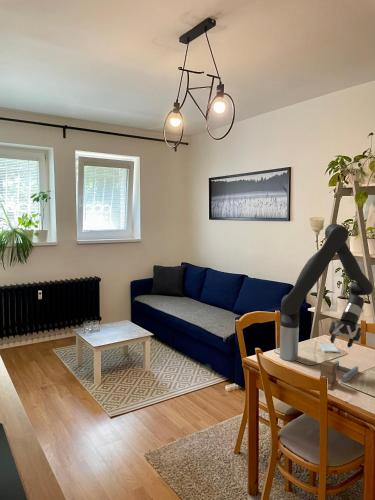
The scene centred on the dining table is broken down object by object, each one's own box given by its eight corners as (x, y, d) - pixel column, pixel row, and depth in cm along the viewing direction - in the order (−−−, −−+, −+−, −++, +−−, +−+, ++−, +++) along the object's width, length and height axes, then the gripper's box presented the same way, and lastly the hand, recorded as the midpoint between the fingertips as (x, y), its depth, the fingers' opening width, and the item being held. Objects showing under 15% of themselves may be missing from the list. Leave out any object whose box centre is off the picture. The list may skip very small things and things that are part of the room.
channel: (336, 365, 183) (336, 360, 183) (358, 371, 176) (358, 366, 176) (322, 375, 172) (322, 370, 171) (344, 382, 164) (345, 377, 164)
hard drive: (318, 342, 212) (324, 350, 200) (332, 343, 211) (339, 351, 199) (318, 345, 212) (324, 353, 200) (332, 345, 211) (339, 354, 199)
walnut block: (324, 378, 168) (325, 358, 167) (337, 383, 164) (338, 362, 163) (316, 385, 162) (316, 364, 161) (329, 390, 158) (330, 368, 157)
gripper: (334, 308, 181) (322, 336, 174) (364, 313, 171) (354, 344, 164) (338, 316, 185) (327, 344, 178) (368, 322, 175) (357, 352, 168)
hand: (340, 344), depth 171 cm, fingers open, 7 cm apart
